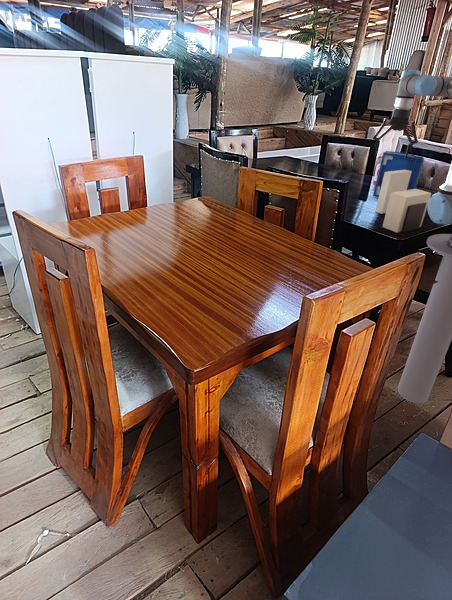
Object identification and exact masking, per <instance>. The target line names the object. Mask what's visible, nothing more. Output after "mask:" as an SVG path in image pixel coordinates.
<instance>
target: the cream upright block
mask: <svg viewBox="0 0 452 600" xmlns="http://www.w3.org/2000/svg"><path fill="white" fill-rule="evenodd" d="M430 197H432V192H430V191H425V190H422V189H418V188H415V189H411V190H405V191H399V192H392V193H391V195H390V199H389V203H388V207H387V211H386V213H385V215H384V219H383V223H382V228H384V229H386V230H389V231H392V232H394V233H406V232H409V231H414V230H419V229H420V228H421V227H422V225H423V222H424V220H425V219H424V218H425V216H426V212H427V210H428V201H429V199H430Z"/></svg>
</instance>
